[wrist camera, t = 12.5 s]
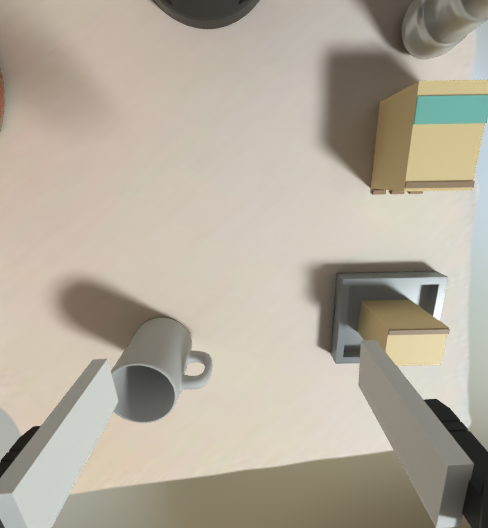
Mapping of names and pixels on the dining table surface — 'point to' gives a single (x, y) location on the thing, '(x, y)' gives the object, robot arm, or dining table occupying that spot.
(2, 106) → the planter
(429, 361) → the plain tan block
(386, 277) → the tray
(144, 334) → the mug
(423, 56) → the plastic bottle
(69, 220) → the dining table surface
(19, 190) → the dining table surface
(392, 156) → the tan teal-banded block
